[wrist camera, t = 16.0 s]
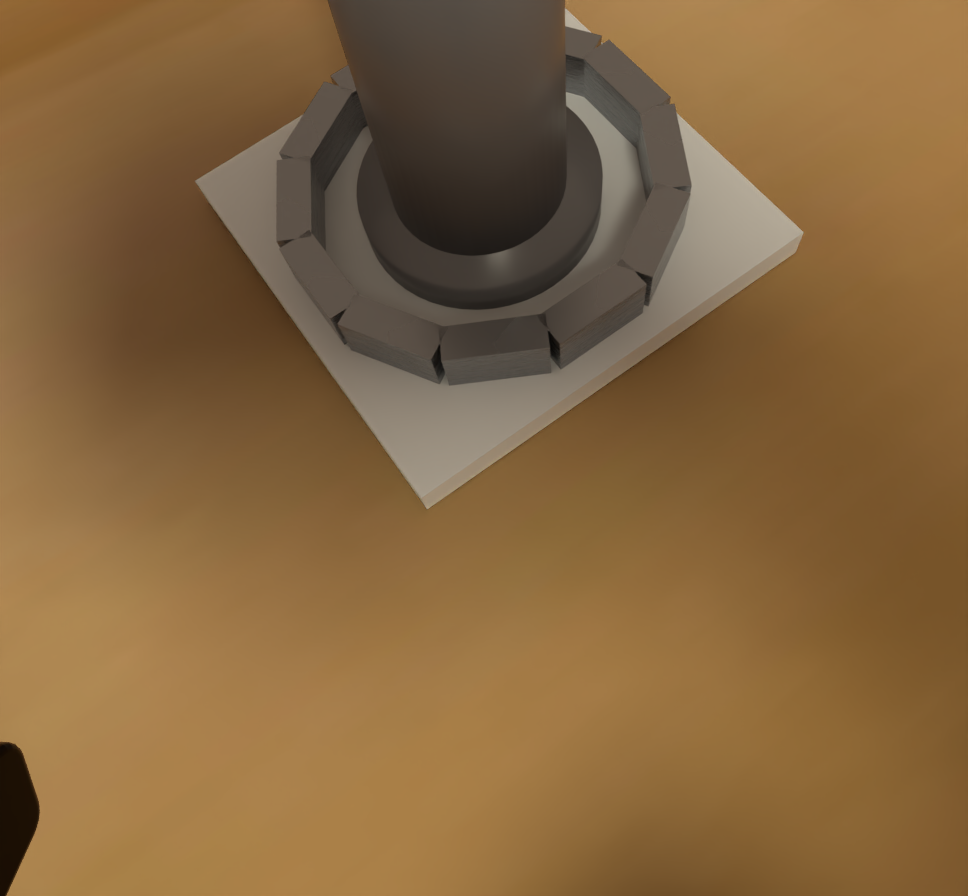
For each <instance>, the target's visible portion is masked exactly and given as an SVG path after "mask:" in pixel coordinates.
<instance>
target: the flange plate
mask: <svg viewBox="0 0 968 896" xmlns="http://www.w3.org/2000/svg"><path fill="white" fill-rule="evenodd" d="M601 40H602V36H601V35H597V34H593V33H591V32H590V31H589V30H588V29H587V28H586V27H585V26H584V25H583V24H582V23H580V22H579V21H578V20H577V19H576V18H575V17H574V16H573V15H572V14H571V13H570V12H569V11H568V10H567V9H566V8H565V55H566V106H567V107H568V108H570V109H571V110H572V111H573V112H574V113H575V114H576V115H577V116H578V117H579V118H580V119H581V120H582V121H583V123H584V124H585V125H586V127H587V128H588V130H589V131H590V133H591V134H592V136H593V138H594V140H595V143H596V145H597V147H598V150H599V154H600V158H601V161H602V171H603V182H602V202H601V216H600V220H599V225H598V229H597V231H596V234H595V237H594V239H593V242H592V243H591V245H590V247H589V249H588V251H587V252H586V254H585V255H584V257H583V258H582V259H581V261H580V262H579V263H578V265H577V266H576V267H575V268H574V269H573V270H572V271H571V272H570V273H569V274H568V275H567V276H566V277H564V278H563V279H562V280H561V281H559V282H558V283H557V284H556V285H554V286H553V287H551V288H549V289H548V290H546V291H544V292H543V293H541V294H539V295H537V296H535V297H532V298H530V299H528V300H526V301H523V302H519V303H516V304H513V305H510V306H505V307H500V308H495V309H483V310H469V309H458V308H451V307H446V306H442V305H439V304H435V303H432V302H429V301H427V300H425V299H422V298H420V297H418V296H416V295H414V294H413V293H411V292H409V291H408V290H406V289H405V288H403V287H402V286H401V285H400V284H398V283H397V282H396V281H395V280H394V279H393V278H392V277H391V276H390V275H389V274H388V273H387V272H386V271H385V270H384V268H383V267H382V265H381V264H380V262H379V261H378V259H377V257H376V255H375V253H374V251H373V249H372V247H371V245H370V242H369V239H368V237H367V234H366V232H365V229H364V227H363V224H362V221H361V218H360V214H359V211H358V205H357V180H358V174H359V169H360V166H361V163H362V160H363V157H364V155H365V153H366V151H367V149H368V147H369V145H370V144H371V142H372V141H373V140H372V137H371V133H370V130H369V127H368V124H367V121H366V118H365V115H364V112H363V109H362V106H361V102H360V99H359V96H358V93H357V90H356V87H355V84H354V81H353V78H352V75H351V71H350V68H349V65H347V66H346V67H344V68H342V69H341V70H339V71H337V72H336V73H334V74H333V75H331V78H332V81H333V84H331V83H327V82H324V83H323V85H322V86H321V88H320V89H319V91H318V92H317V94H316V95H315V97H314V99H313V100H312V102H311V103H310V105H309V106H308V108H307V110H306V111H305V113H304V114H303V115H301V116H300V117H298V118H297V119H295V120H293V121H292V122H290V123H288V124H287V125H285V126H283V127H282V128H280V129H279V130H277V131H275V132H274V133H272V134H270V135H269V136H267V137H266V138H264V139H262V140H261V141H259V142H257V143H256V144H254V145H252V146H251V147H249V148H248V149H246V150H244V151H243V152H241V153H239V154H238V155H236V156H235V157H233V158H231V159H230V160H228V161H226V162H225V163H223V164H221V165H220V166H218V167H217V168H215V169H213V170H212V171H210V172H208V173H207V174H205V175H204V176H202V177H200V178H199V179H197V180H195V182H196V184H197V185H198V187H199V188H200V190H201V191H202V193H203V194H204V196H205V198H206V199H207V201H208V202H209V204H210V205H211V206H212V208H213V209H214V211H215V212H216V213H217V215H218V216H219V218H220V219H221V220H222V222H223V223H224V225H225V226H226V227H227V229H228V230H229V232H230V233H231V234H232V236H233V237H234V239H235V240H236V241H237V243H238V244H239V246H240V247H241V249H242V250H243V251H244V253H245V254H246V256H247V257H248V258H249V260H250V261H251V263H252V264H253V265H254V267H255V268H256V270H257V271H258V272H259V274H260V275H261V277H262V278H263V279H264V281H265V282H266V284H267V285H268V286H269V288H270V289H271V291H272V292H273V293H274V295H275V296H276V298H277V299H278V301H279V302H280V303H281V305H282V306H283V308H284V309H285V310H286V312H287V313H288V315H289V316H290V317H291V319H292V320H293V322H294V323H295V324H296V326H297V327H298V329H299V330H300V331H301V333H302V334H303V336H304V337H305V338H306V340H307V341H308V343H309V344H310V346H311V347H312V348H313V350H314V351H315V353H316V354H317V355H318V357H319V358H320V360H321V361H322V362H323V364H324V365H325V367H326V368H327V369H328V371H329V372H330V374H331V375H332V376H333V378H334V379H335V381H336V382H337V383H338V385H339V386H340V388H341V389H342V390H343V392H344V393H345V395H346V396H347V398H348V399H349V400H350V402H351V403H352V405H353V406H354V407H355V409H356V410H357V412H358V413H359V414H360V416H361V417H362V419H363V420H364V421H365V423H366V424H367V426H368V427H369V428H370V430H371V431H372V433H373V434H374V435H375V437H376V438H377V440H378V441H379V443H380V444H381V445H382V447H383V448H384V450H385V451H386V452H387V454H388V455H389V457H390V458H391V459H392V461H393V462H394V464H395V465H396V466H397V468H398V469H399V471H400V472H401V473H402V475H403V476H404V478H405V479H406V480H407V482H408V483H409V485H410V486H411V487H412V489H413V490H414V492H415V493H416V495H417V496H418V497H419V499H420V500H421V502H422V503H423V504H424V506H425V507H426V509H429V508H430V507H431V506H433V505H434V504H436V503H437V502H439V501H440V500H442V499H443V498H444V497H446V496H447V495H449V494H450V493H452V492H453V491H454V490H456V489H457V488H459V487H460V486H462V485H463V484H464V483H466V482H467V481H469V480H470V479H472V478H473V477H475V476H476V475H477V474H479V473H480V472H482V471H483V470H485V469H486V468H487V467H489V466H490V465H492V464H493V463H495V462H496V461H497V460H499V459H500V458H502V457H503V456H505V455H506V454H507V453H509V452H510V451H512V450H513V449H515V448H516V447H518V446H519V445H520V444H522V443H523V442H525V441H526V440H528V439H529V438H530V437H532V436H533V435H535V434H536V433H538V432H539V431H540V430H542V429H543V428H545V427H546V426H548V425H549V424H550V423H552V422H553V421H555V420H556V419H558V418H559V417H561V416H562V415H563V414H565V413H566V412H568V411H569V410H571V409H572V408H573V407H575V406H576V405H578V404H579V403H581V402H582V401H583V400H585V399H586V398H588V397H589V396H591V395H592V394H594V393H595V392H596V391H598V390H599V389H601V388H602V387H604V386H605V385H606V384H608V383H609V382H611V381H612V380H614V379H615V378H616V377H618V376H619V375H621V374H622V373H624V372H625V371H626V370H628V369H629V368H631V367H632V366H634V365H635V364H637V363H638V362H639V361H641V360H642V359H644V358H645V357H647V356H648V355H649V354H651V353H652V352H654V351H655V350H657V349H658V348H659V347H661V346H662V345H664V344H665V343H667V342H668V341H670V340H671V339H672V338H674V337H675V336H677V335H678V334H680V333H681V332H682V331H684V330H685V329H687V328H688V327H690V326H691V325H692V324H694V323H695V322H697V321H698V320H700V319H701V318H702V317H704V316H705V315H707V314H708V313H710V312H711V311H713V310H714V309H715V308H717V307H718V306H720V305H721V304H723V303H724V302H725V301H727V300H728V299H730V298H731V297H733V296H734V295H735V294H737V293H738V292H740V291H741V290H743V289H744V288H745V287H747V286H748V285H750V284H751V283H753V282H754V281H756V280H757V279H758V278H760V277H761V276H763V275H764V274H766V273H767V272H768V271H770V270H771V269H773V268H774V267H776V266H777V265H778V264H780V263H781V262H783V261H784V260H786V259H787V258H789V257H790V256H791V255H793V254H794V253H795V252H796V250H797V248H798V245H799V243H800V240H801V238H802V236H803V233H804V232H803V231H802V230H801V229H800V228H799V227H797V226H796V225H795V224H794V223H793V222H792V221H791V220H790V219H789V218H788V217H787V216H786V215H785V214H784V213H783V212H782V211H780V210H779V209H778V208H777V207H776V206H775V205H774V204H773V203H772V202H771V201H770V200H769V199H768V198H767V197H766V196H765V195H763V194H762V193H761V192H760V191H759V190H758V189H757V188H756V187H755V186H754V185H753V184H752V183H751V182H750V181H749V180H747V179H746V178H745V177H744V176H743V175H742V174H741V173H740V172H739V171H738V170H737V169H736V168H735V167H734V166H733V165H732V164H730V163H729V162H728V161H727V160H726V159H725V158H724V157H723V156H722V155H721V154H720V153H719V152H718V151H717V150H716V149H715V148H713V147H712V146H711V145H710V144H709V143H708V142H707V141H706V140H705V139H704V138H703V137H702V136H701V135H700V134H699V133H697V132H696V131H695V130H694V129H693V128H692V127H691V126H690V125H689V124H688V123H687V122H686V121H685V120H684V119H683V118H682V117H680V116H679V115H678V114H677V113H676V108H675V104H670V96H669V95H668V94H667V93H666V92H665V91H664V90H662V89H661V88H660V87H659V86H658V85H657V84H656V83H655V82H654V81H653V80H652V79H651V78H650V77H649V76H647V75H646V74H645V73H644V72H643V71H642V70H641V69H640V68H639V67H638V66H637V65H636V64H635V63H634V62H632V61H631V60H630V59H629V58H628V57H627V56H626V55H625V54H624V53H623V52H622V51H621V50H620V49H619V48H617V47H616V46H615V45H614V44H613V43H612V42H611V41H610V40H608V41H606V42H605V43H602V42H601ZM669 104H670V105H669Z"/></svg>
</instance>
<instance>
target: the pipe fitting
mask: <svg viewBox="0 0 968 896" xmlns="http://www.w3.org/2000/svg"><path fill="white" fill-rule="evenodd" d="M328 3H329V6H330V9H331V12H332V16H333V19H334V22H335V25H336V28H337V31H338V34H339V37H340V40H341V43H342V47H343V50H344V53H345V56H346V59H347V62H348V65H349V68H350V71H351V75H352V78H353V81H354V84H355V87H356V90H357V93H358V96H359V99H360V102H361V106H362V109H363V112H364V115H365V118H366V121H367V124H368V127H369V130H370V133H371V137H372V140H373V141H372V142H371V144H370V145H369V147H368V149H367V151H366V153H365V155H364V157H363V160H362V163H361V166H360V169H359V174H358V180H357V205H358V211H359V214H360V218H361V221H362V224H363V227H364V229H365V232H366V234H367V237H368V239H369V242H370V245H371V247H372V249H373V251H374V253H375V255H376V257H377V259H378V261H379V262H380V264H381V265H382V267H383V268H384V270H385V271H386V272H387V273H388V274H389V275H390V276H391V277H392V278H393V279H394V280H395V281H396V282H397V283H398V284H400V285H401V286H402V287H403V288H405V289H406V290H408V291H409V292H411V293H413V294H414V295H416V296H418V297H420V298H422V299H425V300H427V301H429V302H432V303H435V304H439V305H442V306H446V307H451V308H458V309H469V310H483V309H495V308H500V307H505V306H510V305H513V304H516V303H519V302H523V301H526V300H528V299H530V298H532V297H535V296H537V295H539V294H541V293H543V292H544V291H546V290H548V289H549V288H551V287H553V286H554V285H556V284H557V283H558V282H559V281H561V280H562V279H563V278H564V277H566V276H567V275H568V274H569V273H570V272H571V271H572V270H573V269H574V268H575V267H576V266H577V265H578V263H579V262H580V261H581V259H582V258H583V257H584V255H585V254H586V252H587V251H588V249H589V247H590V245H591V243H592V242H593V239H594V237H595V234H596V231H597V229H598V225H599V220H600V216H601V202H602V182H603V171H602V161H601V158H600V154H599V150H598V147H597V145H596V143H595V140H594V138H593V136H592V134H591V133H590V131H589V130H588V128H587V127H586V125H585V124H584V123H583V121H582V120H581V119H580V118H579V117H578V116H577V115H576V114H575V113H574V112H573V111H572V110H571V109H570V108H568V107H567V106H566V55H565V0H328Z"/></svg>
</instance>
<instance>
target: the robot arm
mask: <svg viewBox="0 0 968 896" xmlns="http://www.w3.org/2000/svg"><path fill="white" fill-rule="evenodd" d="M39 813H40V810H39V801H38V798H37V795H36V792H35V789H34V786H33V783H32V780H31V777H30V774H29V771H28V768H27V765H26V762H25V759H24V756H23V753H22V751H21V750H20V748H18V747H17V746H16V745H15V744H13V743H10V742H0V896H6V895H7V893H8V891H9V888H10V886H11V884H12V882H13V880H14V877H15V875H16V873H17V871H18V869H19V866H20V864H21V862H22V860H23V858H24V856H25V853H26V851H27V849H28V847H29V845H30V842H31V840H32V838H33V836H34V834H35V831H36V828H37V824H38V821H39Z"/></svg>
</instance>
